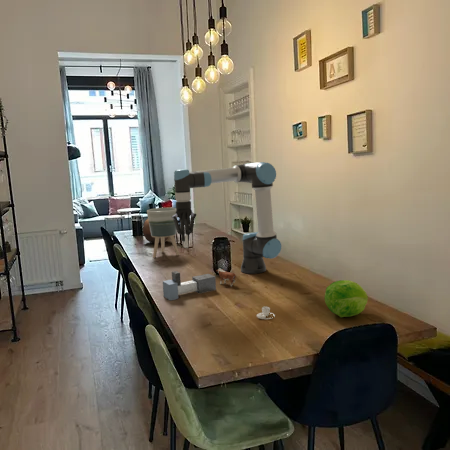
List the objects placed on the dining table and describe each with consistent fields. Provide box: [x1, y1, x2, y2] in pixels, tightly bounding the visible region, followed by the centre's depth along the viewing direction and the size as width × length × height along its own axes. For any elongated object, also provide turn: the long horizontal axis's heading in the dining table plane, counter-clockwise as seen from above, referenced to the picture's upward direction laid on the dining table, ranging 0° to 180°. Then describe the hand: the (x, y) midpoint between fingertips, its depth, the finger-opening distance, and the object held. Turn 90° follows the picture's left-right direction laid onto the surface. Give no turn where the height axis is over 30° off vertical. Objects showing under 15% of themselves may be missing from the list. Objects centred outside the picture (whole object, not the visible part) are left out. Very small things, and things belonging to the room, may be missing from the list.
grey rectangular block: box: [191, 273, 217, 295], centre depth 230 cm, size 10×7×7 cm
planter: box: [146, 207, 180, 259], centre depth 314 cm, size 22×22×33 cm
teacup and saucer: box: [256, 306, 276, 320], centre depth 190 cm, size 9×8×4 cm
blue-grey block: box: [162, 279, 179, 301], centre depth 220 cm, size 4×8×8 cm, turn 31°
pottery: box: [142, 218, 169, 244], centre depth 360 cm, size 23×23×25 cm
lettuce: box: [324, 279, 369, 318], centre depth 187 cm, size 17×20×15 cm
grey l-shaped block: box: [171, 270, 198, 296], centre depth 223 cm, size 17×4×11 cm, turn 121°
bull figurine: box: [216, 268, 237, 287], centre depth 239 cm, size 4×13×8 cm, turn 45°
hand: (185, 247), depth 222 cm, fingers closed
